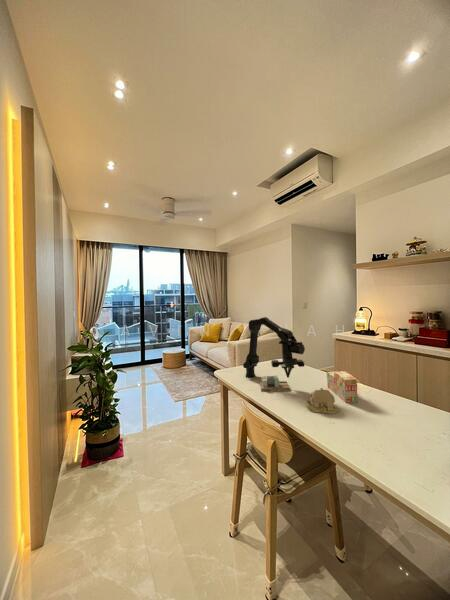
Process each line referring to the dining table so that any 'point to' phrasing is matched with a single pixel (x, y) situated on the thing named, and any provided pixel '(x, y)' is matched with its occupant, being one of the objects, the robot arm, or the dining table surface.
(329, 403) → the ceramic model
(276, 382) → the sliding jaw
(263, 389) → the vise base
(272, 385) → the block
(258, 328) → the robot arm
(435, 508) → the dining table surface
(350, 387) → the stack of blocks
